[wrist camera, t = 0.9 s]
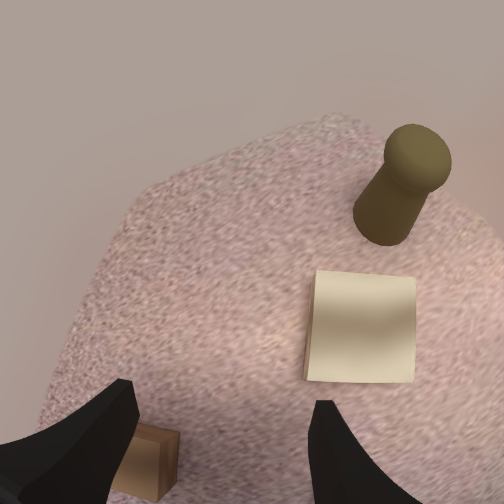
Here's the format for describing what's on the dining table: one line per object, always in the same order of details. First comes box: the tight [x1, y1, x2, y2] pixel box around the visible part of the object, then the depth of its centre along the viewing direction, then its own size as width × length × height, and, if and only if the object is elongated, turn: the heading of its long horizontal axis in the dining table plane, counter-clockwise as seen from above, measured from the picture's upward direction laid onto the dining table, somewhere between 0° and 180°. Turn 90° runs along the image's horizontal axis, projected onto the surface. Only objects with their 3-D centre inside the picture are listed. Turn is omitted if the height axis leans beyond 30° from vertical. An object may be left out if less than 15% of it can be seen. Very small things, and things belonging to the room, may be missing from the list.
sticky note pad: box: [302, 270, 416, 383], centre depth 23 cm, size 8×8×4 cm
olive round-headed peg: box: [353, 124, 451, 246], centre depth 23 cm, size 6×6×11 cm
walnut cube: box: [110, 423, 180, 503], centre depth 20 cm, size 5×5×5 cm
